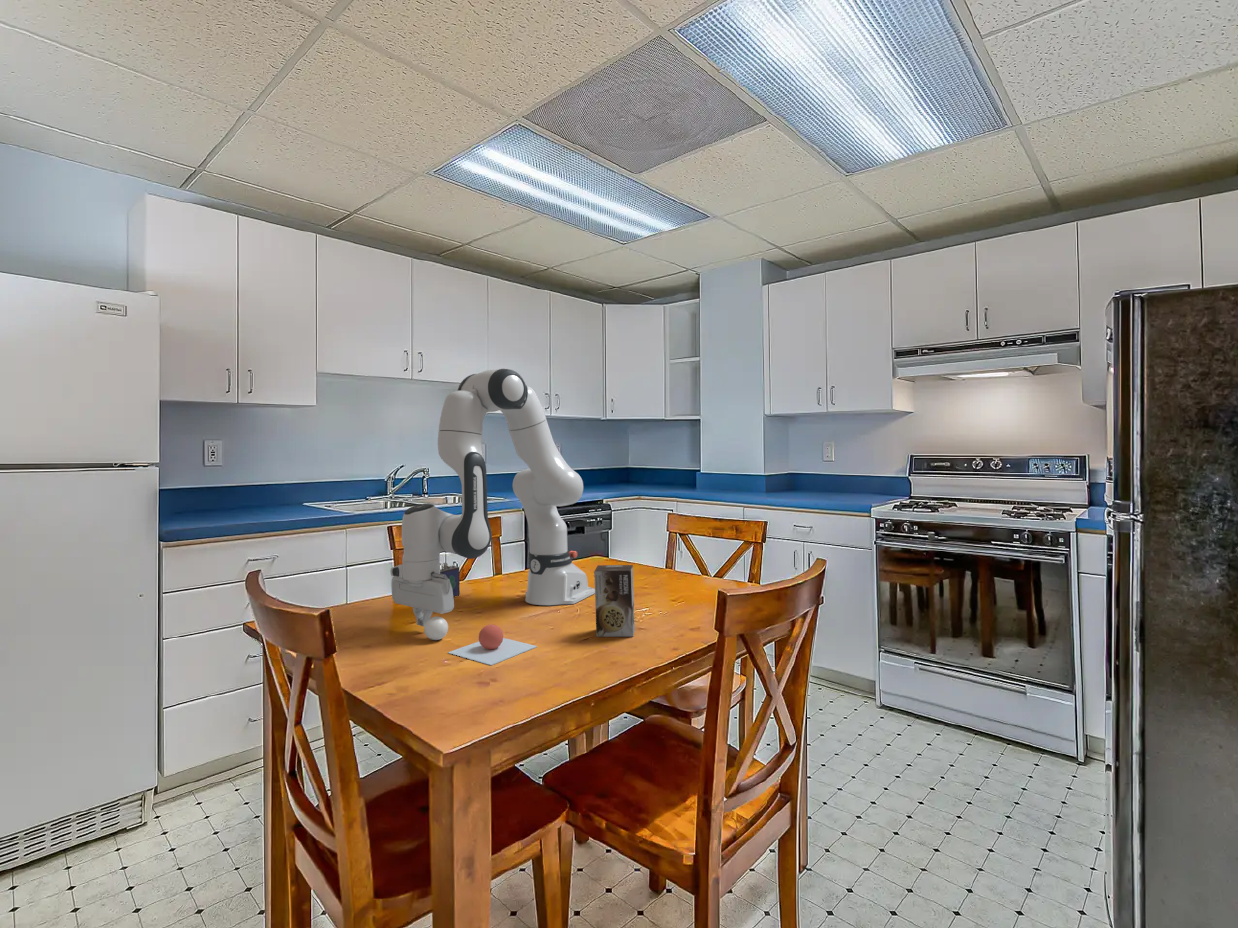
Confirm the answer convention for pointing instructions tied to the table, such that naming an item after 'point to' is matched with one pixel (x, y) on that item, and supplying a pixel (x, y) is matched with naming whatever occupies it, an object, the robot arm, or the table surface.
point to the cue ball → (436, 628)
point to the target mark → (492, 651)
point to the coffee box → (614, 601)
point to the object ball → (490, 637)
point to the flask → (452, 577)
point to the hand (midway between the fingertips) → (423, 625)
